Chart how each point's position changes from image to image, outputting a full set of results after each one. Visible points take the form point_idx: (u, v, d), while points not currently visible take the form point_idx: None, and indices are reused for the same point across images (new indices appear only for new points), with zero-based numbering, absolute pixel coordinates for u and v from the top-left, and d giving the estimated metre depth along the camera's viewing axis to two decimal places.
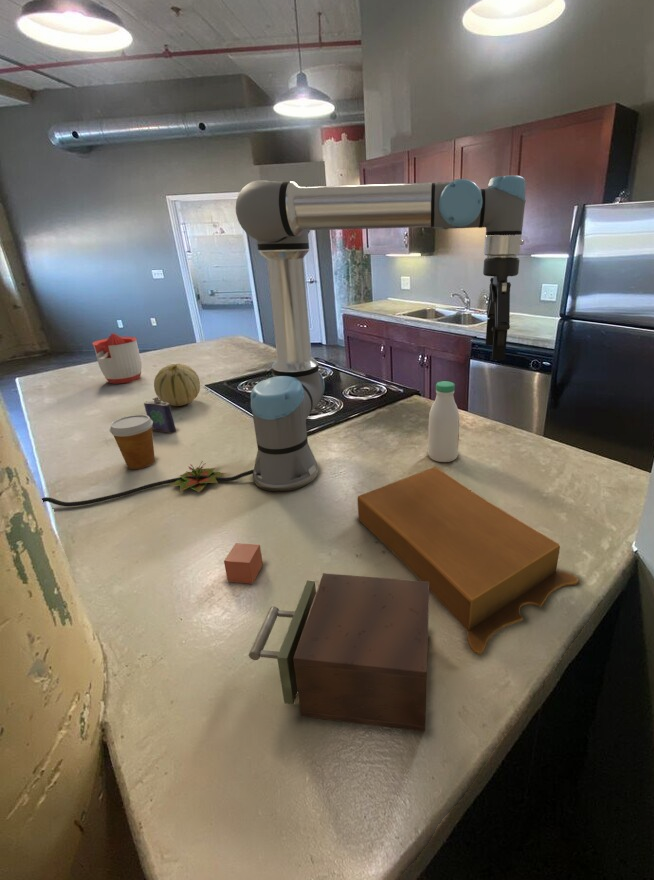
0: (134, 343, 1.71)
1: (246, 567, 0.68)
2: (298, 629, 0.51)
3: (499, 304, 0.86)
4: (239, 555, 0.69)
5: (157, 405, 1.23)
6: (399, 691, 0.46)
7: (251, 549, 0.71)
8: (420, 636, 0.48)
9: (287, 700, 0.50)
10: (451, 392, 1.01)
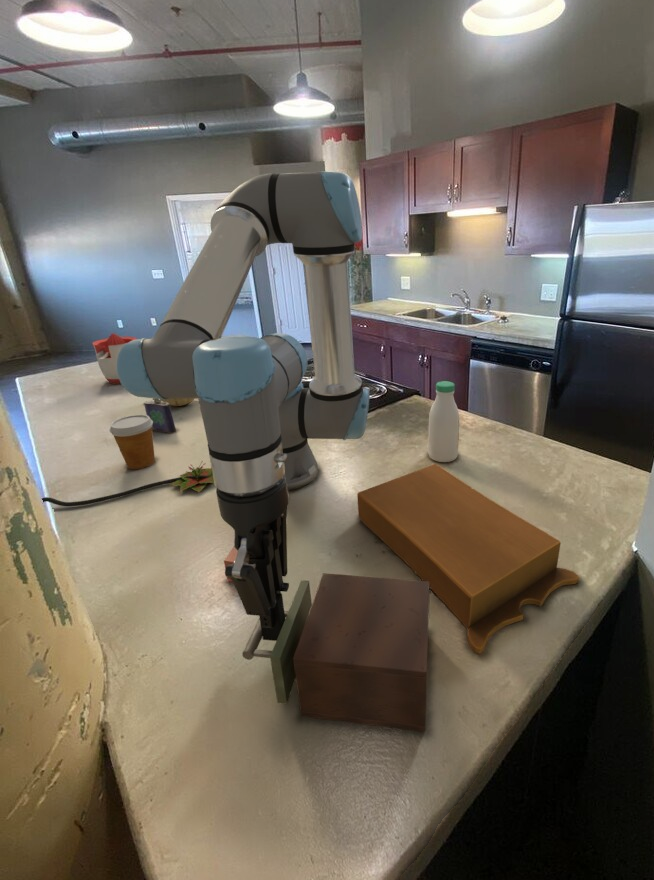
0: None
1: None
2: (291, 628, 0.51)
3: (240, 592, 0.46)
4: None
5: (157, 405, 1.23)
6: (399, 691, 0.46)
7: None
8: (420, 636, 0.48)
9: (280, 699, 0.50)
10: (451, 392, 1.01)
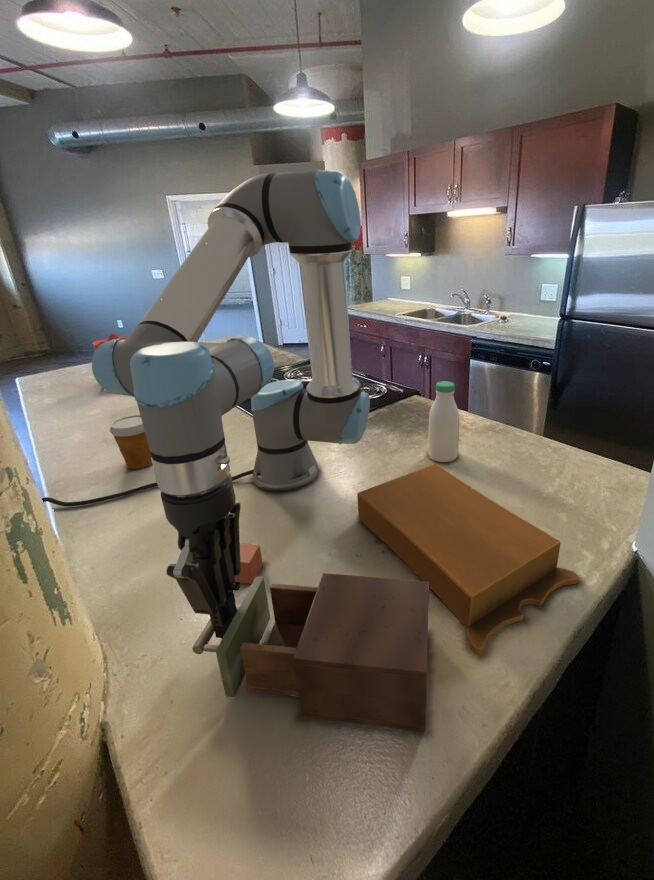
0: None
1: (246, 567, 0.68)
2: (240, 623, 0.52)
3: (185, 591, 0.47)
4: None
5: None
6: (399, 691, 0.46)
7: (251, 549, 0.71)
8: (420, 636, 0.48)
9: (228, 693, 0.51)
10: (451, 392, 1.01)
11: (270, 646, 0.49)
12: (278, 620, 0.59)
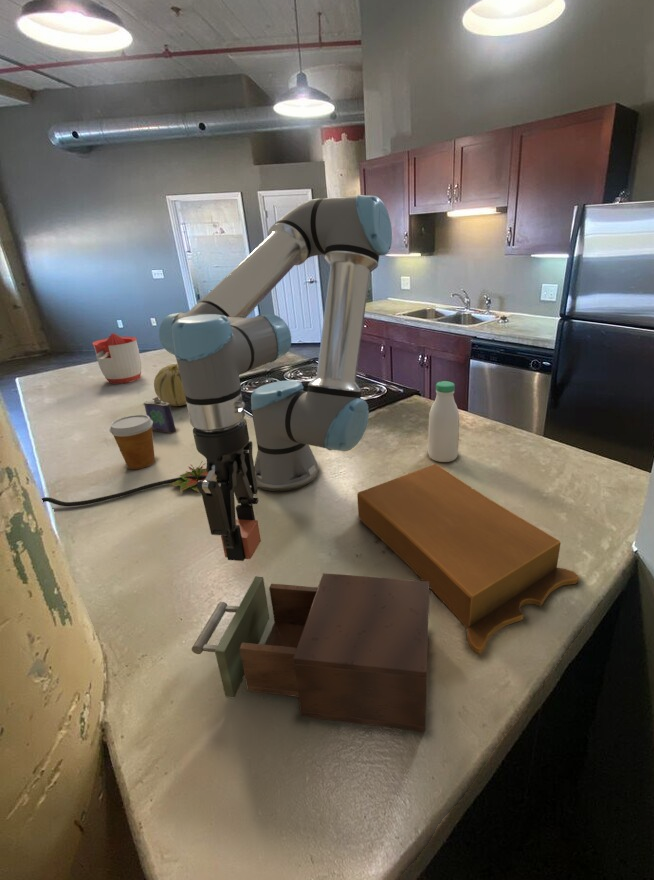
0: (134, 343, 1.71)
1: (244, 542, 0.67)
2: (240, 623, 0.52)
3: (207, 508, 0.60)
4: None
5: (157, 405, 1.23)
6: (399, 691, 0.46)
7: (249, 524, 0.69)
8: (420, 636, 0.48)
9: (227, 693, 0.51)
10: (451, 392, 1.01)
11: (269, 646, 0.49)
12: (277, 620, 0.59)
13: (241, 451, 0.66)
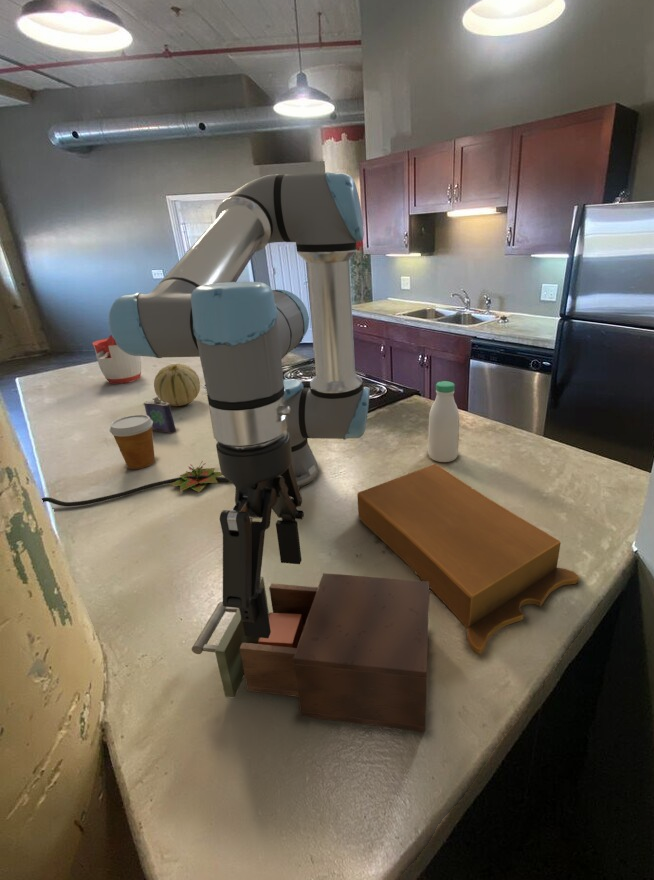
0: None
1: None
2: (240, 623, 0.52)
3: (226, 558, 0.41)
4: (277, 631, 0.53)
5: (157, 405, 1.23)
6: (399, 691, 0.46)
7: (291, 621, 0.54)
8: (420, 636, 0.48)
9: (227, 693, 0.51)
10: (451, 392, 1.01)
11: (269, 646, 0.49)
12: None
13: None
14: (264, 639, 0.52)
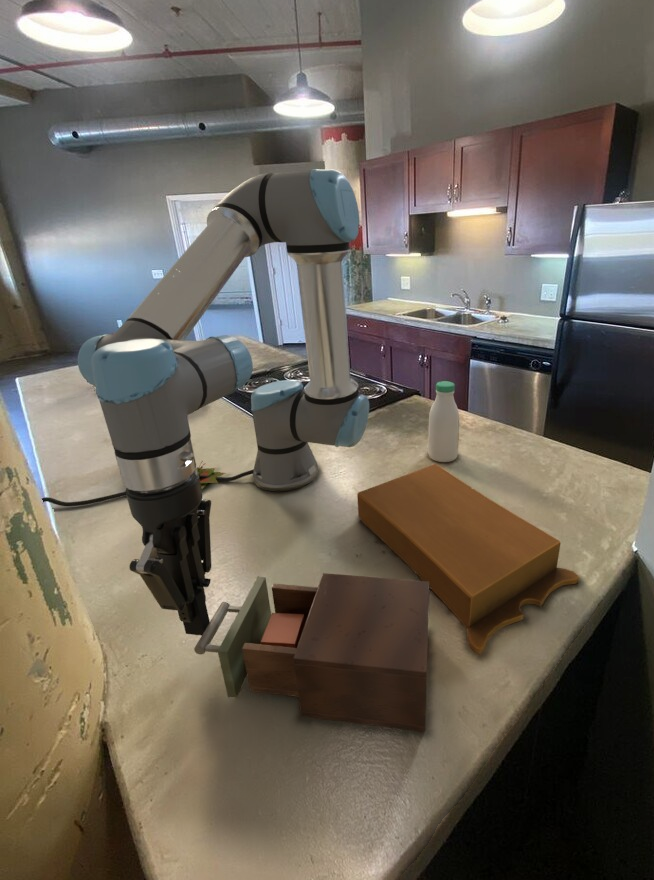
0: None
1: None
2: (242, 624, 0.52)
3: (150, 586, 0.47)
4: (280, 632, 0.53)
5: None
6: (399, 691, 0.46)
7: (294, 622, 0.54)
8: (420, 636, 0.48)
9: (230, 693, 0.51)
10: (451, 392, 1.01)
11: (272, 646, 0.49)
12: None
13: (194, 510, 0.52)
14: (267, 639, 0.52)
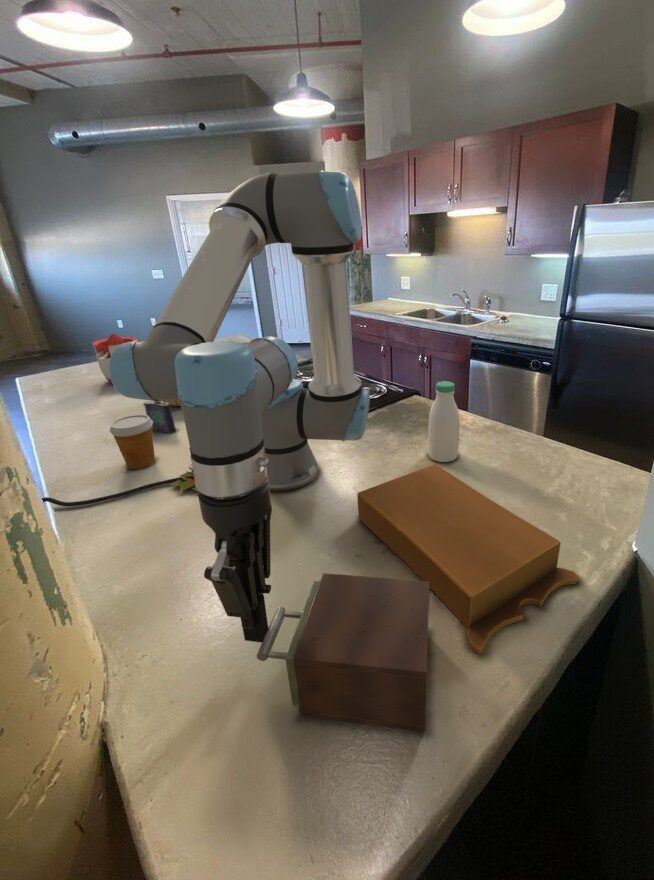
0: None
1: None
2: None
3: (220, 594, 0.46)
4: None
5: (157, 405, 1.23)
6: (399, 691, 0.46)
7: None
8: (420, 636, 0.48)
9: (295, 701, 0.50)
10: (451, 392, 1.01)
11: None
12: None
13: None
14: None
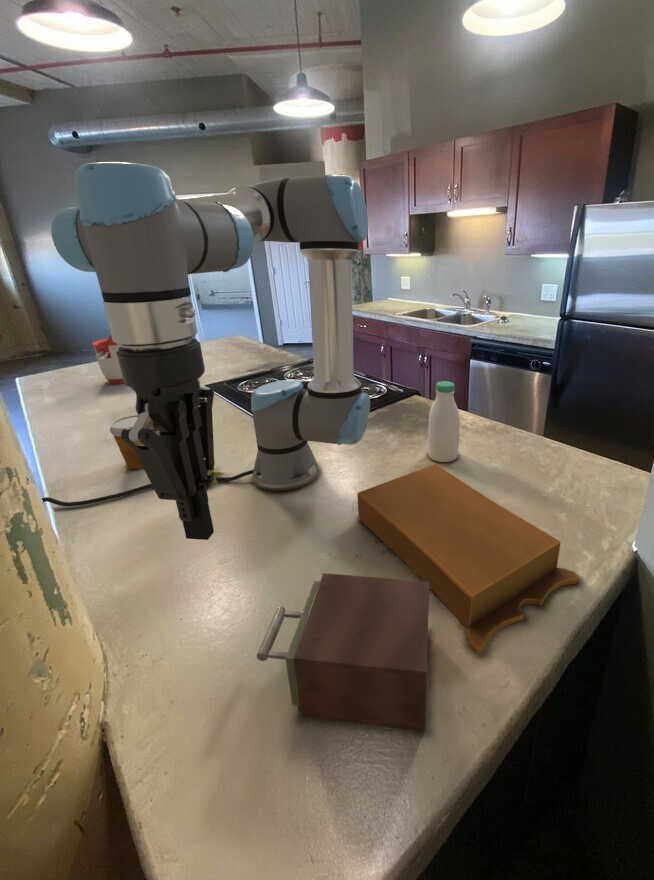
0: None
1: None
2: None
3: (145, 466, 0.41)
4: None
5: None
6: (399, 691, 0.46)
7: None
8: (420, 636, 0.48)
9: (295, 701, 0.50)
10: (451, 392, 1.01)
11: None
12: None
13: (195, 392, 0.46)
14: None
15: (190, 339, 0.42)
